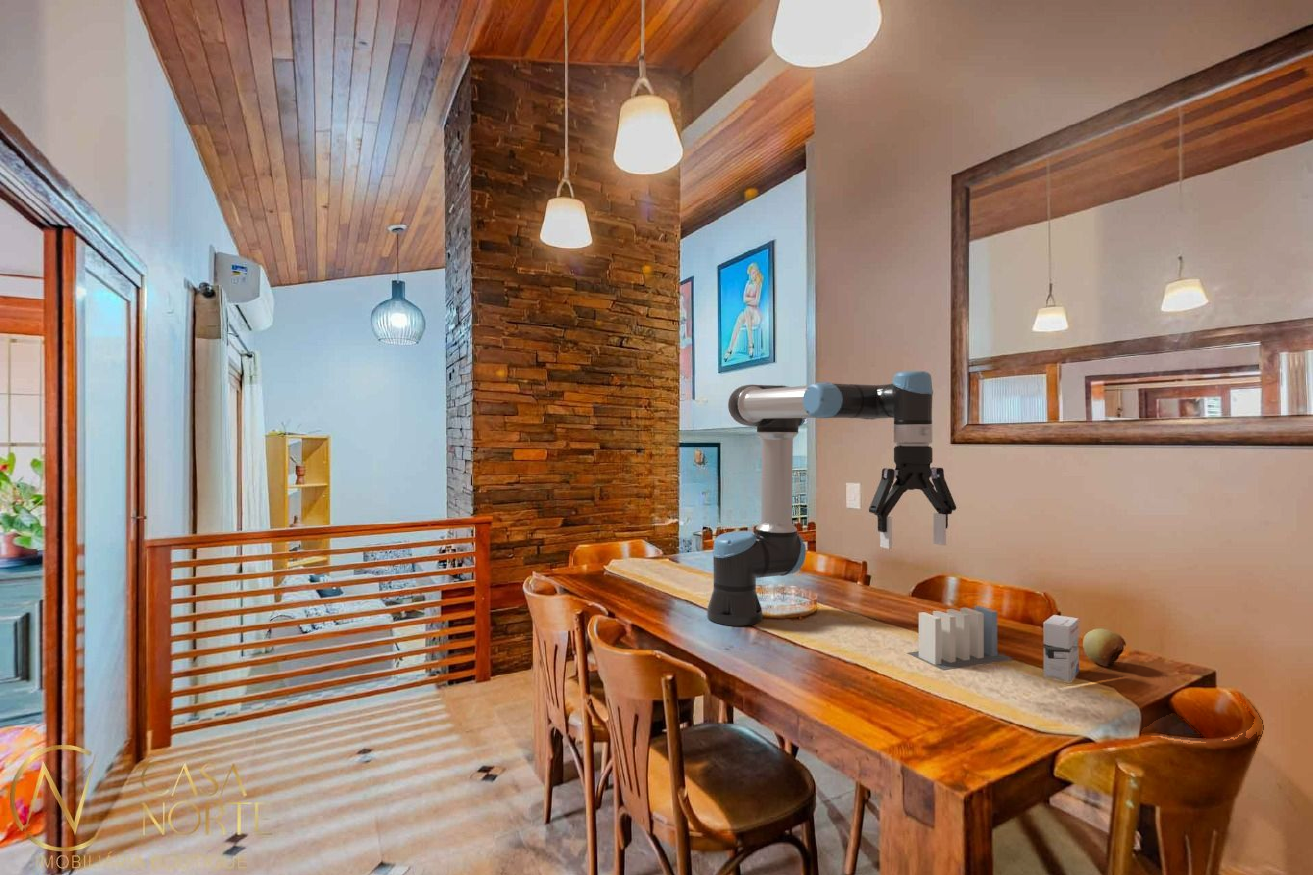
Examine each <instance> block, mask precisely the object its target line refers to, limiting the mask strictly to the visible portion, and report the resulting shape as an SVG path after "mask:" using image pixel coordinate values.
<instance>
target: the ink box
mask: <svg viewBox="0 0 1313 875" xmlns="http://www.w3.org/2000/svg"><path fill="white" fill-rule="evenodd" d="M1079 622H1080V619H1079V618H1077V617H1071V616H1064V615H1057V614H1053V615H1052V616H1050V617H1049V618H1047V619H1046V620H1044V622H1042V625H1043V633H1042V634H1043V677H1045V678H1049V679H1054V680H1056V681H1061V682H1064V683H1071V682H1072V681H1073V680H1074V679H1075V677H1076V676H1078V674H1079V673H1080V659H1079V658H1080V652H1079V650H1080V648H1079V646H1080V645H1079V643H1080V642H1079V638H1080V636H1079V634H1080V632H1079V631H1080V630H1079V628H1080V626H1079V625H1080V624H1079Z"/></svg>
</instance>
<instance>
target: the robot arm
mask: <svg viewBox="0 0 1313 875" xmlns="http://www.w3.org/2000/svg"><path fill="white" fill-rule="evenodd" d="M932 380H933V379H932V375H931V374H930V373H929V372H927V371H922V370H920V371H918V370H912V371H910V370H909V371H900V372H897V373H895V374H894V375H893V381H892V383H888V384H857V383H856V384H851V383H850V384H849V383H833V382H832V383H831V382H826V381H825V382H819V383H818V382H813V383H812V384H809V385H798V386H788V385H782V384H781V385H773V384H772V385H767V384H764V385H763V384H745V385H741V386H739V387H738V388H736V389H734V391H733V392H732V393H731V394H730V396H729V398H728V403H727V408H728V413H729V414H730V416H731V417H732V419H733V420H734V421H735V422H737V423H738V424H740V425H743V426H748V427H756V434H757V435H758V436H760V438H761V442H762V443H761V507H760V508H761V512H760V514H761V516H760V517H761V519H760V523H758V525H757V526H756V527H755V532H754V531H750V530H739V531H738V530H737V531H736V530H734V531H729V532H725V533H724V532H723V533H722V534H719V535H717V536H716V537H715V539H714V541H713V550H712V556H713V557H712V558H713V561H712V562H713V591H712V593H711V597H710V600H709V603H708V606H707V612H706V617H707V619H708V620H709V621H711V622H713V623H716V624H719V625H723V626H725V625H726V626H734V627H735V626H737V627H738V626H739V627H740V626H742V627H744V626H750V625H755V624H758V623H760V622H762V621H763V609H762V606H761V603H760V598H759V596H758V592H757V587H756V586H757V584H756V583H757V579H758V578H759V579H761V578H768V577H777V576H778V577H784V576H787V575H791V574H795V573H797V572H798V571H799V570H800V569H801V568H802V567H803V565H804V564H805V560H806V555H807V549H806V543H805V542H804V539H803V537H802V536H801V534H799V533H798V528H797V527H796V526H795V525H794V523H793V461H794V460H793V459H794V458H793V454H794V453H793V452H794V451H793V448H794V445H793V444H794V443H793V442H794V441H793V440H794V438H795V437H796V436H797V435H798V434H799V427H800V426H801V427H802V425H803V424H805V422H806V419H862V420H871V421H873V420H876V419H878V420H879V419H891V418H892V419H893V443H894V444H895V445H896V446H894V448H893V462H894V464H895V468H889V467H888V468H887V467H884V468H883V469H882V470H881V478H880V481H879V483H878V486H877V488H876V491H875V494H874V495H873V498H872V500H871V503H870V505H869V506H868V507H869V508H868V512H869V513H870V514H873V515H874V516H876V517H877V531H878V533H880V534H879V535H880V536H879V538H880V541H879V543H880V545H879V546H880V547H881V548H882V549H883V548H884V549H888V550H892V549H893V517H892V516H889V514H890V513H891V512H893V509H894V508H895V506H896V505H897V503H898V502H899V501H900V499H901V497H903V494H904V493H906V492H907V491H914V490H918V491H919V490H920V491H922V492H923V494H924V495H925V497H926V498H927V500H928V501H929V502H930V504H931V505H932V507H933V508H934V510H935V511H936V512H934V513H933V544H935V545H940V546H946V545H947V534H946V533H947V530H948V527H949V521H948V520H949V515H952V513H953V511H956V510H957V504H956V503H955V500H954V498H953V496H952V494H951V491H950V489H949V488H950V487H949V486H948V483H947V481H946V479H945V472H944V471H945V470H944V468H943V467H931V464H932V463H933V447H932V446H930V445H931V444H932V443H933V419H932V418H933V395H934V390H933V382H932ZM930 478H931V480H930ZM894 479H896V480H895V481H894Z"/></svg>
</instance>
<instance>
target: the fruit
mask: <svg viewBox="0 0 1313 875" xmlns="http://www.w3.org/2000/svg"><path fill="white" fill-rule="evenodd" d="M1126 645H1127V644H1126V641H1125V639H1124V638H1123V637H1122V636H1121V635H1120V634H1118V633H1116V632H1115V631H1112V630H1110V629H1106V628H1094V629H1091V630H1089V631H1088V632H1087V633H1086V634H1085V635H1084V637H1083V640H1082V647H1083V650H1084V653H1085V654H1086V656H1087V657H1088V659H1089V660H1091V661H1092V662H1093V663H1094V664H1097V665H1099V666H1101V667H1103V668H1106V667H1108V666H1109V664H1110V665H1111V666H1114V665H1115V662H1116V661H1117V660H1118V659H1119V657H1120V656H1121V654H1123V652H1124V648H1125V647H1126Z"/></svg>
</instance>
